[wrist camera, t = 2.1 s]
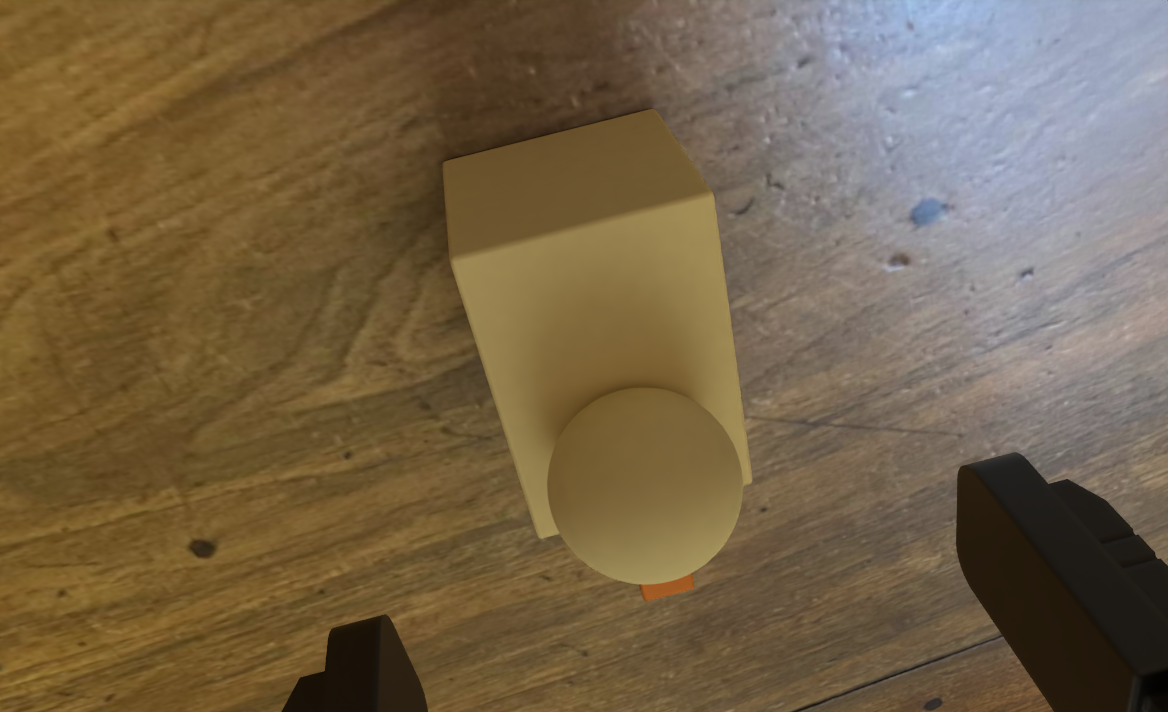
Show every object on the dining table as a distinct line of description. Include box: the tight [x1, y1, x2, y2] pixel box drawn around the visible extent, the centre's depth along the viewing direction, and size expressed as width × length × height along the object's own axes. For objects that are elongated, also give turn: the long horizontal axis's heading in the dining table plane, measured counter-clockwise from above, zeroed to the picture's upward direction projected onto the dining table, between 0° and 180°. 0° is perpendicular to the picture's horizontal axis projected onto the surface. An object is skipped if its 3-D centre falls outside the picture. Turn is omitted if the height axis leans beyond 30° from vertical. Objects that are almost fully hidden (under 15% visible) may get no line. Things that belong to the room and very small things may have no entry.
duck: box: [442, 109, 752, 601], centre depth 18 cm, size 7×4×7 cm, turn 12°
